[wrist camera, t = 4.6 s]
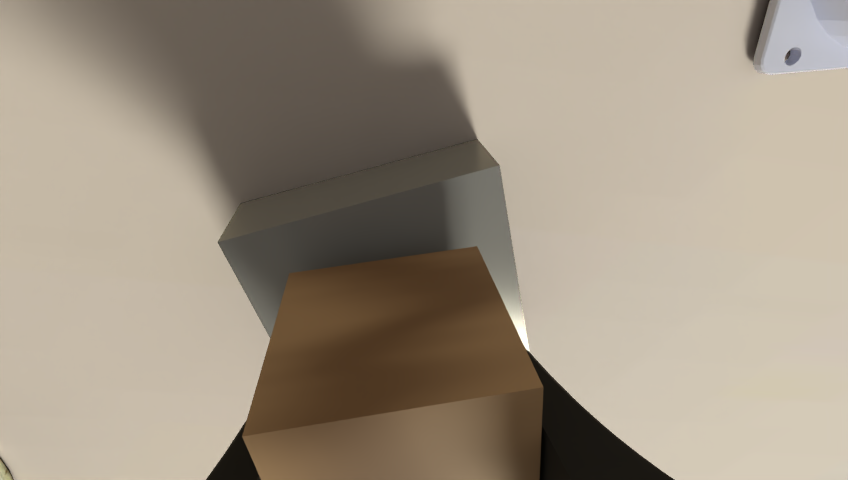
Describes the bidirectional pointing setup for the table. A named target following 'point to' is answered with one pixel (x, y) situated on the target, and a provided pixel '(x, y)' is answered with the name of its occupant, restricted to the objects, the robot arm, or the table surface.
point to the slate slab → (376, 224)
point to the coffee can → (4, 472)
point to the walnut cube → (396, 377)
